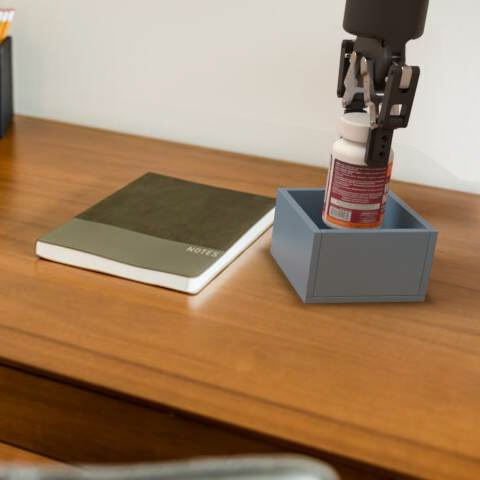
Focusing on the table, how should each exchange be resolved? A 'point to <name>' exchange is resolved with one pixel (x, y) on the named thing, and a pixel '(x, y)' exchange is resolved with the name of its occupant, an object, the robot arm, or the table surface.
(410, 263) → the bin
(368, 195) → the pill bottle
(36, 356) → the table surface
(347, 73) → the robot arm
